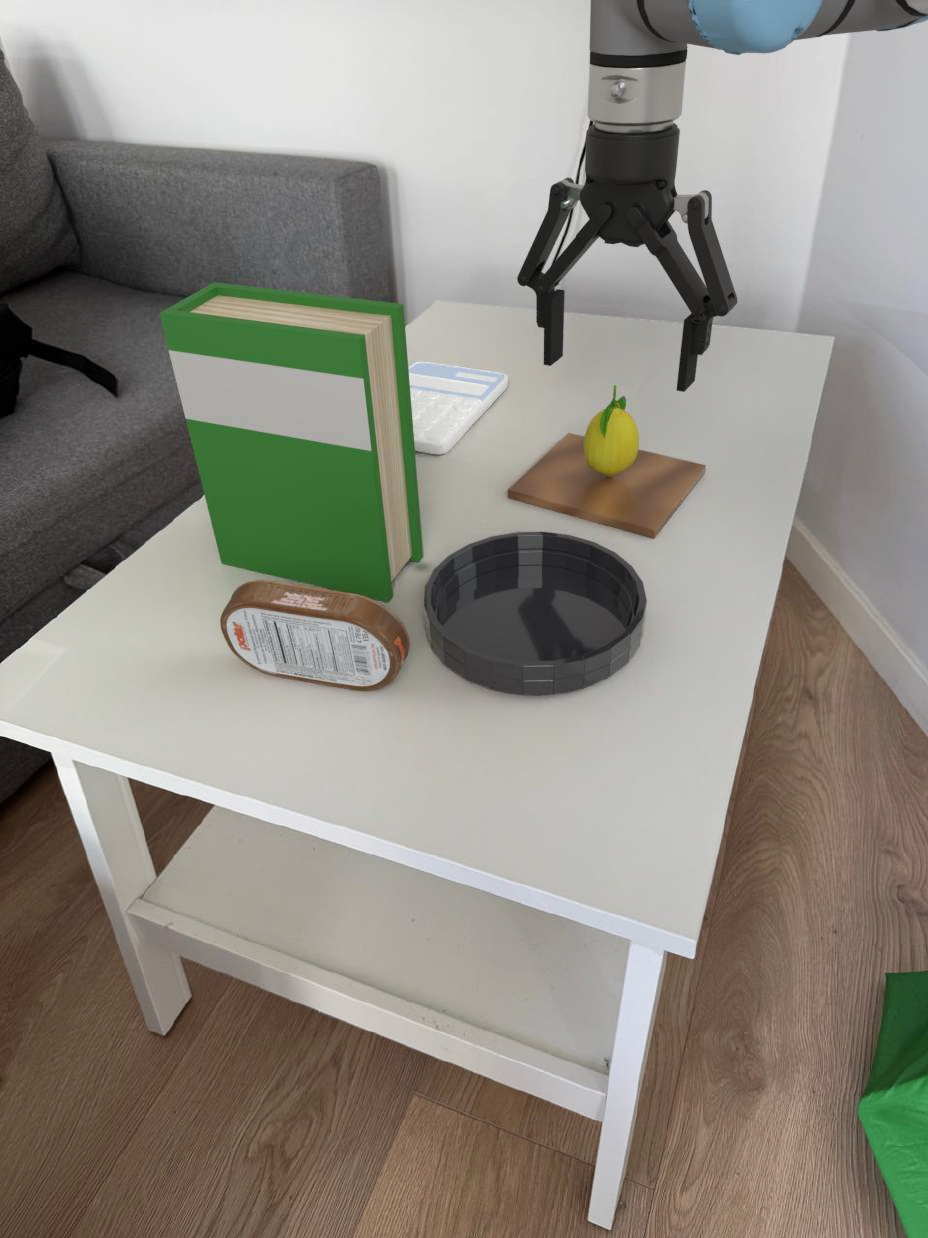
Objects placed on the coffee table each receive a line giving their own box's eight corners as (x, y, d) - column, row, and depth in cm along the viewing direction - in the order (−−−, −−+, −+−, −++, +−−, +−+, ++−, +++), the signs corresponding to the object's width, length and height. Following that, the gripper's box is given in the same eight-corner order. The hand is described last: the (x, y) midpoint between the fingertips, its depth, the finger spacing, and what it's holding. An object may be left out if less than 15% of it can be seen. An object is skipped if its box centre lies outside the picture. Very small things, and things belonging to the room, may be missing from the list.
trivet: (705, 473, 96) (706, 465, 96) (654, 539, 87) (655, 530, 86) (568, 440, 103) (568, 432, 102) (507, 497, 94) (507, 489, 93)
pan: (674, 599, 80) (679, 566, 78) (584, 730, 68) (587, 696, 66) (493, 543, 87) (493, 512, 85) (384, 652, 76) (380, 619, 73)
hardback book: (423, 557, 86) (403, 303, 71) (388, 602, 81) (358, 339, 66) (263, 523, 92) (214, 281, 77) (221, 563, 87) (159, 313, 71)
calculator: (339, 439, 105) (337, 423, 104) (416, 370, 119) (415, 356, 118) (444, 458, 101) (443, 443, 100) (511, 385, 115) (511, 370, 114)
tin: (414, 678, 73) (406, 594, 68) (402, 705, 71) (392, 620, 65) (244, 650, 77) (223, 568, 71) (226, 675, 74) (204, 592, 69)
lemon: (600, 499, 91) (606, 406, 85) (566, 474, 95) (569, 384, 89) (653, 479, 94) (662, 388, 87) (617, 456, 98) (624, 367, 91)
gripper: (477, 122, 77) (484, 364, 90) (773, 142, 66) (732, 413, 79) (519, 106, 82) (520, 337, 95) (802, 122, 71) (759, 381, 84)
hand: (617, 372), depth 87 cm, fingers open, 13 cm apart
